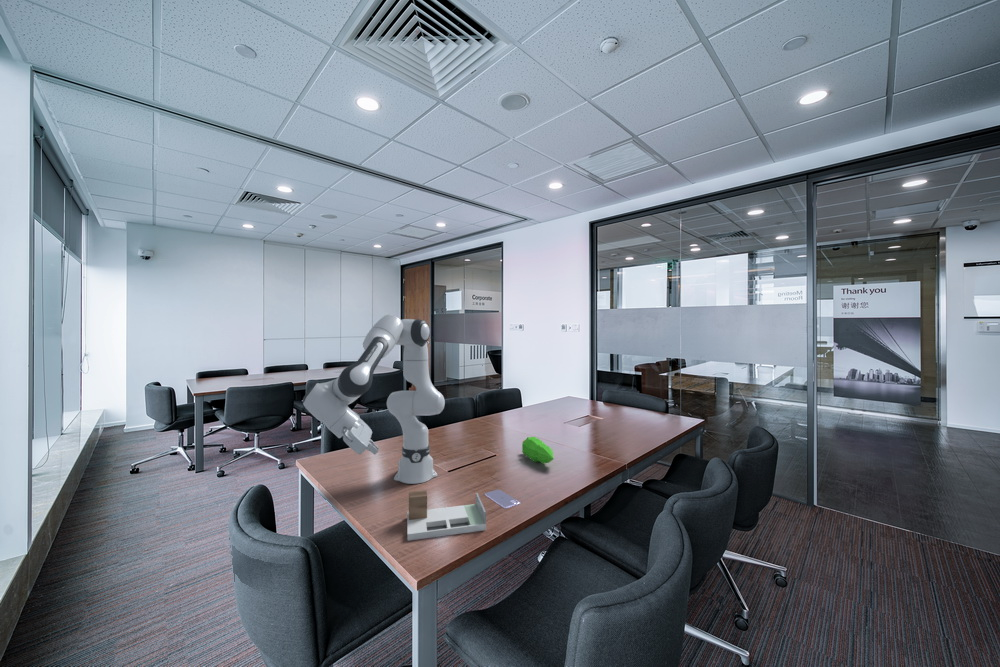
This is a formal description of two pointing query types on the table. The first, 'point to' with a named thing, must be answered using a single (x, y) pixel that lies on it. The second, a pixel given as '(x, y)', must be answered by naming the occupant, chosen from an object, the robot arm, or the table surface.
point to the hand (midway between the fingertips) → (377, 451)
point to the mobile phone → (502, 498)
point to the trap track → (448, 521)
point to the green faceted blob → (537, 450)
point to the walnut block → (417, 504)
